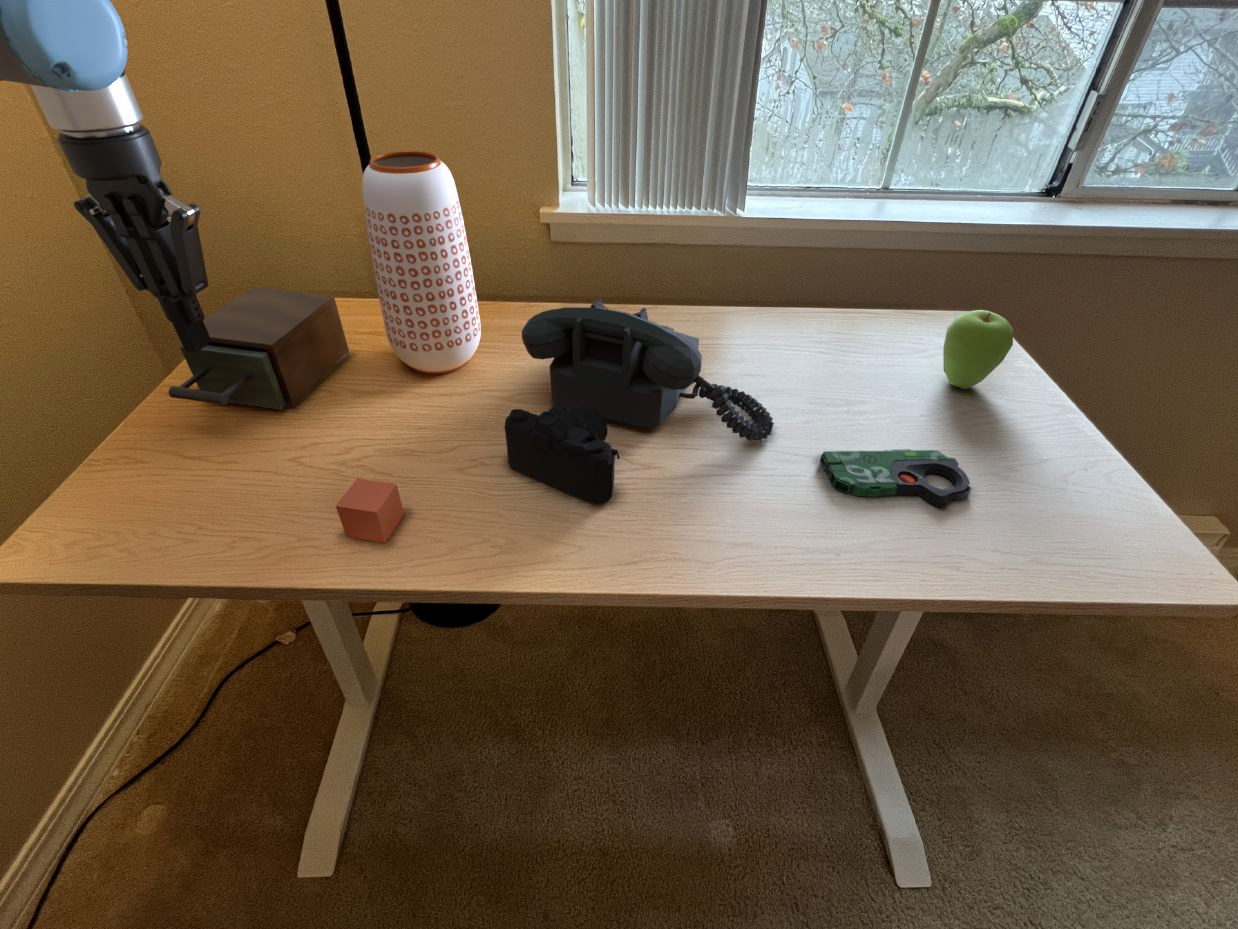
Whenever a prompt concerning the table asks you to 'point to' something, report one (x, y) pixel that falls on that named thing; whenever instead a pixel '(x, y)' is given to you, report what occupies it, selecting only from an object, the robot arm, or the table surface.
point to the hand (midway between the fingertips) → (198, 346)
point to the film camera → (563, 450)
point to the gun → (894, 473)
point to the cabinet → (285, 335)
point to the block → (370, 510)
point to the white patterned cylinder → (421, 260)
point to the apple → (975, 347)
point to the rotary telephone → (630, 368)
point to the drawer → (231, 377)
